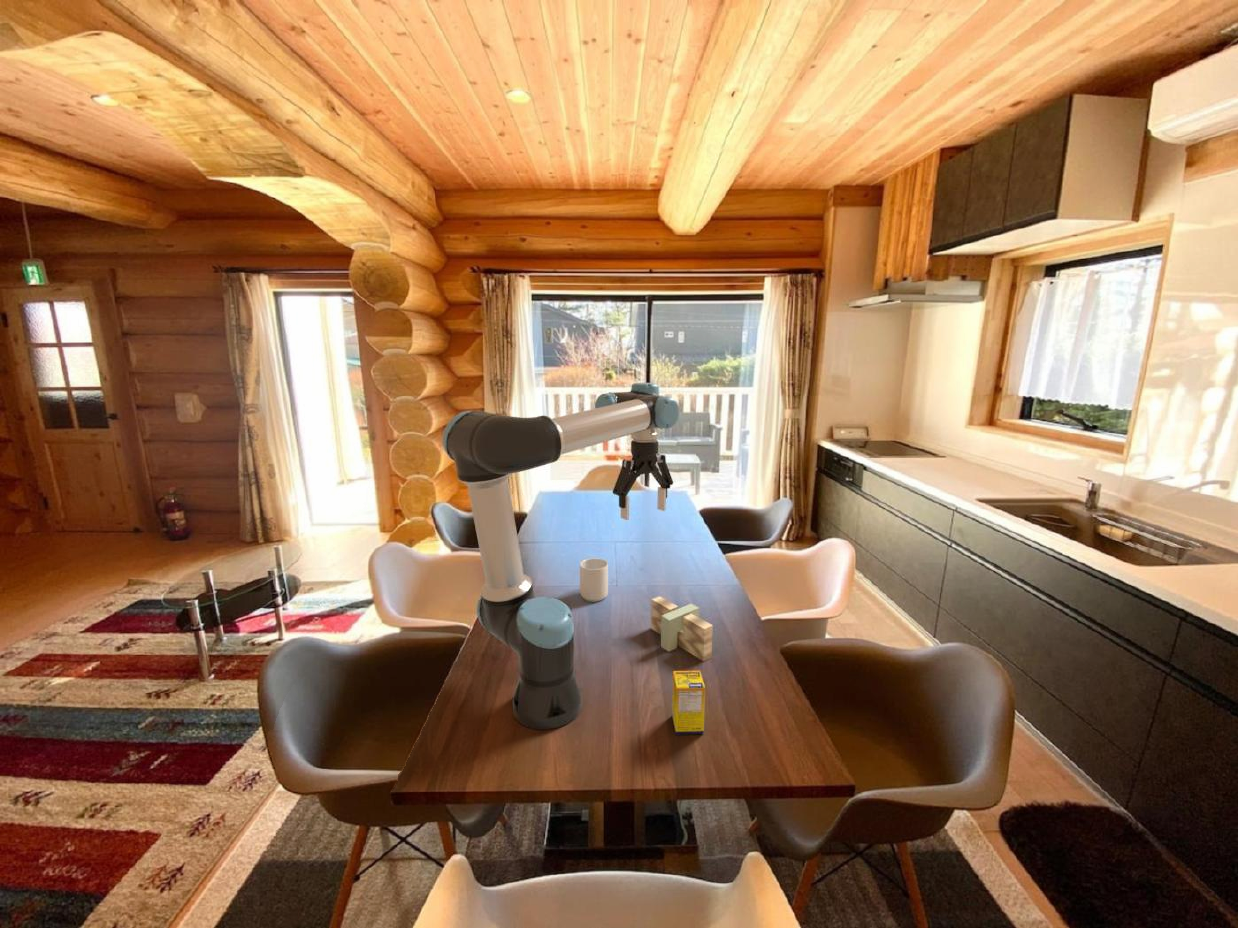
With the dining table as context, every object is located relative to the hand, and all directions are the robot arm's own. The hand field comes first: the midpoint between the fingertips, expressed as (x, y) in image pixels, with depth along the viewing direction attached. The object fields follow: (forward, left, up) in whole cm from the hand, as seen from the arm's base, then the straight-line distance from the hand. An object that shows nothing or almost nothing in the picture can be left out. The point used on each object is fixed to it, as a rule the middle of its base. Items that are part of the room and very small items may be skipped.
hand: (643, 514), depth 146 cm
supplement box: (-39, -24, -32) cm, 56 cm away
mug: (+8, +19, -32) cm, 38 cm away
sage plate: (-9, -14, -32) cm, 36 cm away
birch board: (-9, -14, -32) cm, 36 cm away
